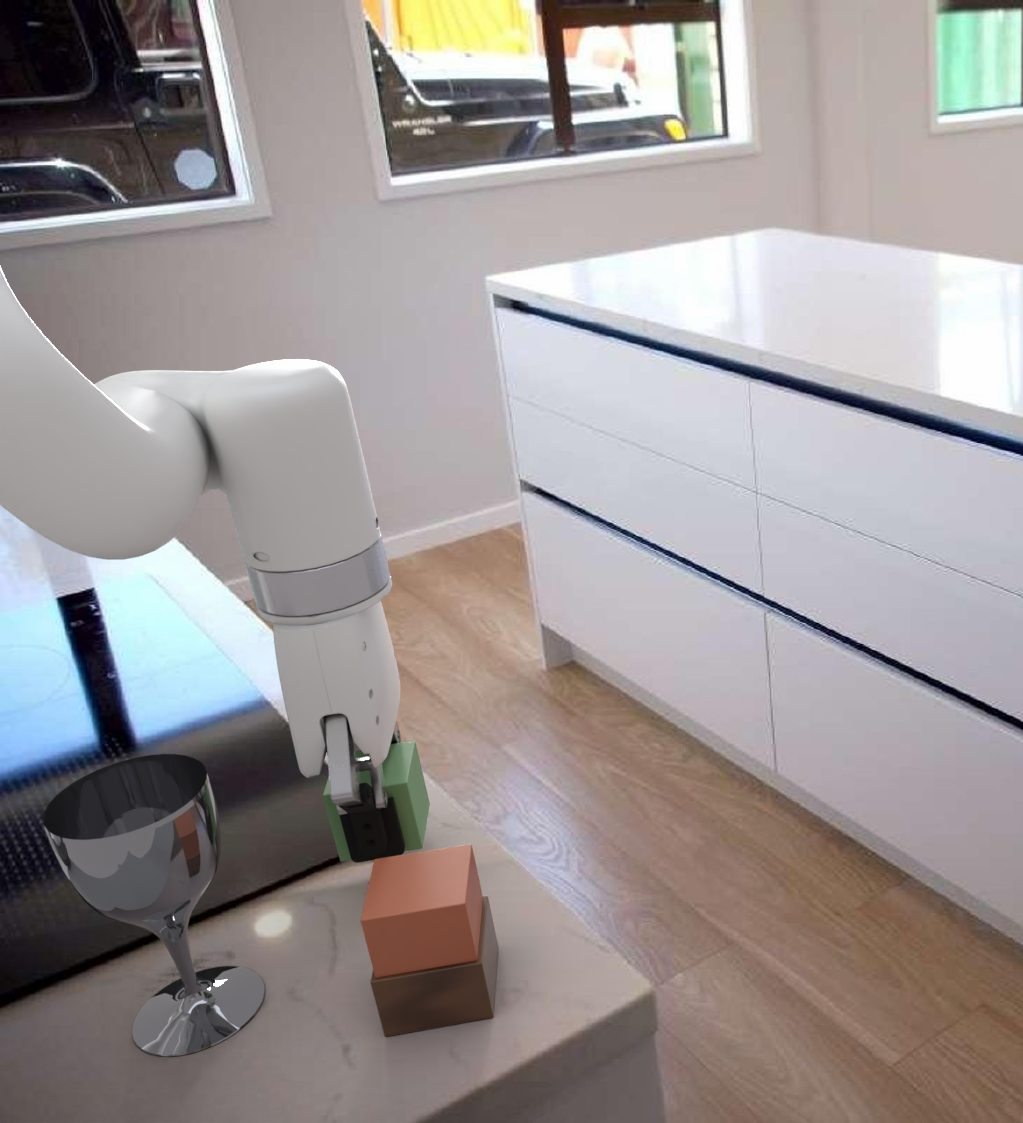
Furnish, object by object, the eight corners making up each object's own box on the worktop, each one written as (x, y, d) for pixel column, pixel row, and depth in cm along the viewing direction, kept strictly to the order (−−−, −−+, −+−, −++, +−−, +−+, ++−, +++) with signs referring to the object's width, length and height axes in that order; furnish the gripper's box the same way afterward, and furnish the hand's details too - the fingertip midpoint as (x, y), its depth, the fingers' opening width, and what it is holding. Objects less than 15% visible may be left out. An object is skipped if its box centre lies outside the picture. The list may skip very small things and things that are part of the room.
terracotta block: (375, 978, 70) (360, 920, 68) (387, 914, 75) (373, 858, 73) (477, 960, 71) (465, 903, 69) (483, 898, 76) (471, 843, 74)
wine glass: (301, 988, 75) (238, 775, 69) (179, 1082, 69) (98, 857, 63) (217, 946, 79) (151, 740, 73) (94, 1031, 73) (10, 814, 67)
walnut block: (384, 1037, 71) (369, 982, 70) (397, 964, 77) (383, 912, 75) (493, 1018, 72) (481, 963, 71) (498, 947, 78) (487, 894, 76)
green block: (340, 862, 80) (322, 796, 77) (352, 816, 84) (335, 752, 82) (422, 849, 80) (406, 782, 78) (430, 804, 85) (415, 740, 83)
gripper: (282, 528, 82) (345, 767, 89) (217, 650, 66) (299, 926, 74) (403, 513, 83) (455, 750, 90) (367, 630, 67) (433, 903, 75)
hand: (384, 827), depth 82 cm, fingers closed on green block, 5 cm apart
